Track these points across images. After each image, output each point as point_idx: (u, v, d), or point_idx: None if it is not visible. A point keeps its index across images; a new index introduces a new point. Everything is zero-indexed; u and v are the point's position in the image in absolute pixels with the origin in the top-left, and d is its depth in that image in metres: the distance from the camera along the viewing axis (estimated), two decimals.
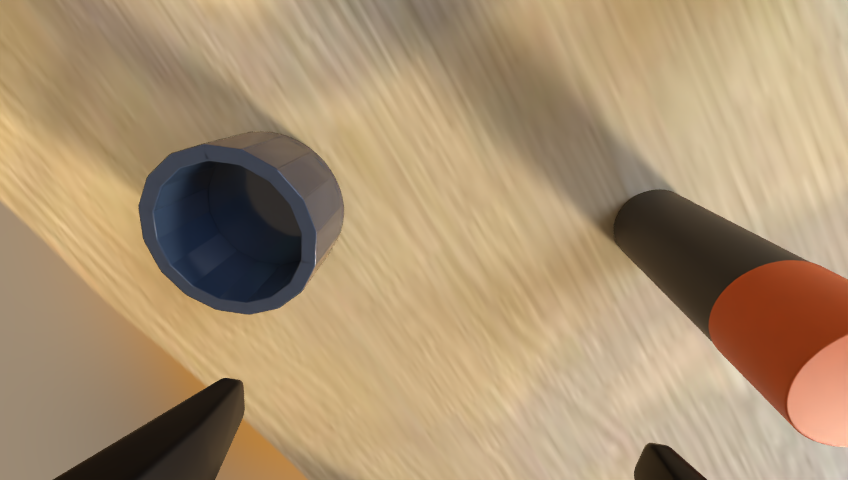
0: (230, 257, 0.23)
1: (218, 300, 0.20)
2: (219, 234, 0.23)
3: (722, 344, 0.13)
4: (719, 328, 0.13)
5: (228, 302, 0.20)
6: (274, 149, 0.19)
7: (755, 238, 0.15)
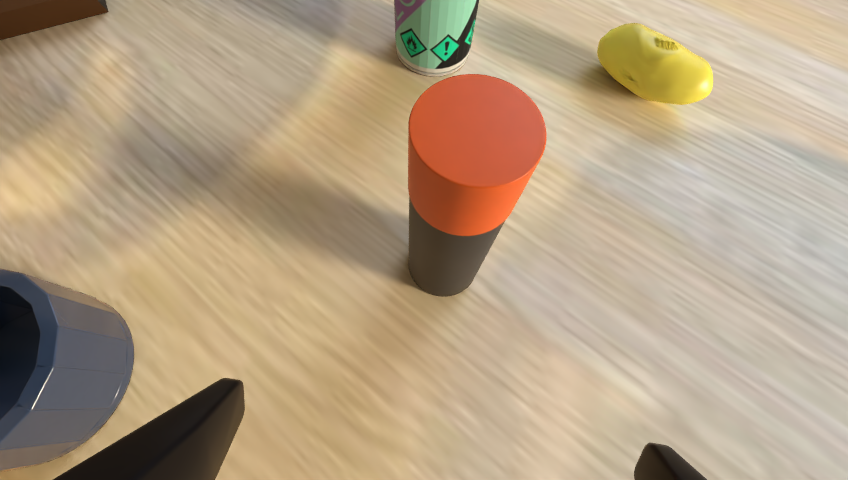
0: None
1: None
2: None
3: (421, 207, 0.14)
4: (413, 198, 0.14)
5: None
6: None
7: None
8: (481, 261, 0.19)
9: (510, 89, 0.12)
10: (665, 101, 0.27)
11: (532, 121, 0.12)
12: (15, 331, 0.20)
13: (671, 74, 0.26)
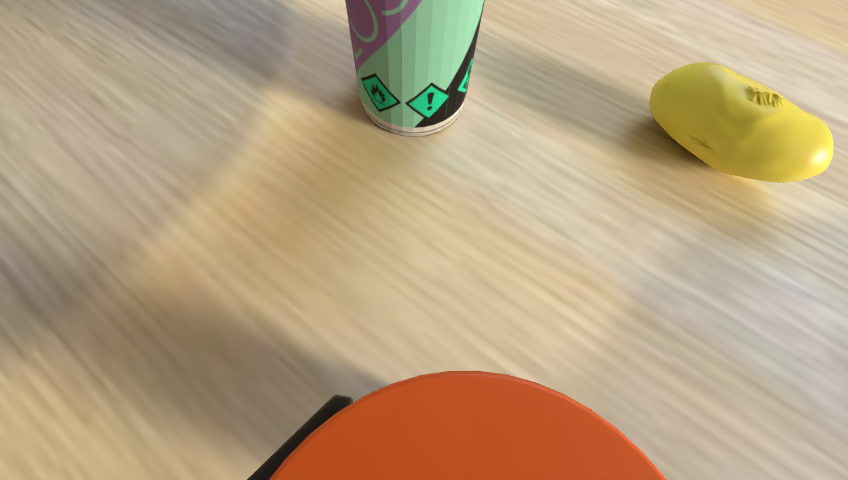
0: None
1: None
2: None
3: None
4: None
5: None
6: None
7: None
8: None
9: (594, 442, 0.03)
10: (756, 178, 0.18)
11: None
12: None
13: (772, 142, 0.17)
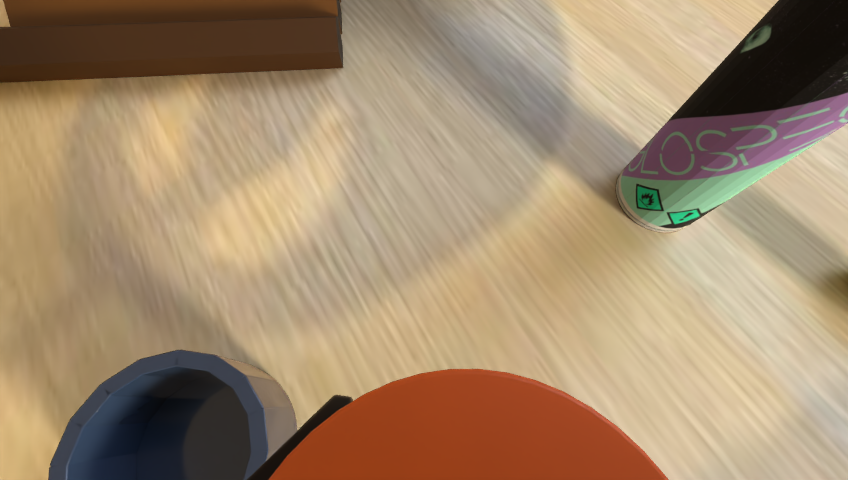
0: None
1: None
2: None
3: None
4: None
5: None
6: (244, 366, 0.19)
7: None
8: None
9: (595, 440, 0.03)
10: None
11: None
12: (199, 392, 0.21)
13: None
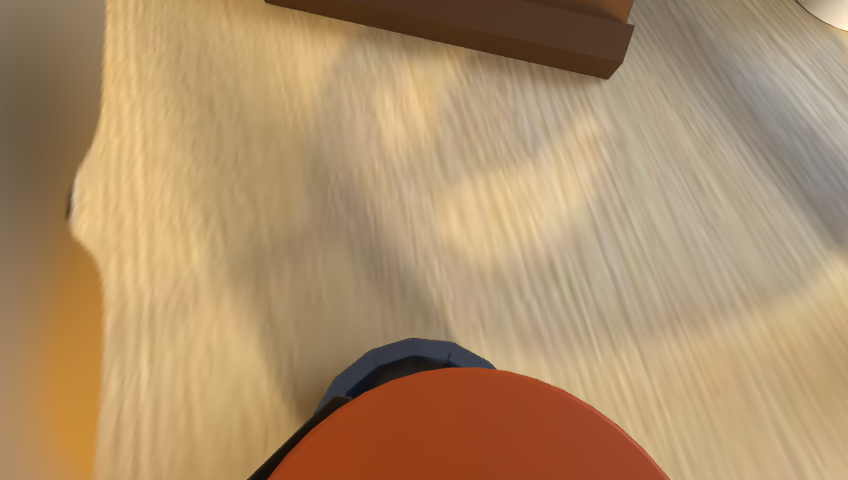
0: None
1: None
2: None
3: None
4: None
5: None
6: None
7: None
8: None
9: (595, 438, 0.03)
10: None
11: None
12: None
13: None
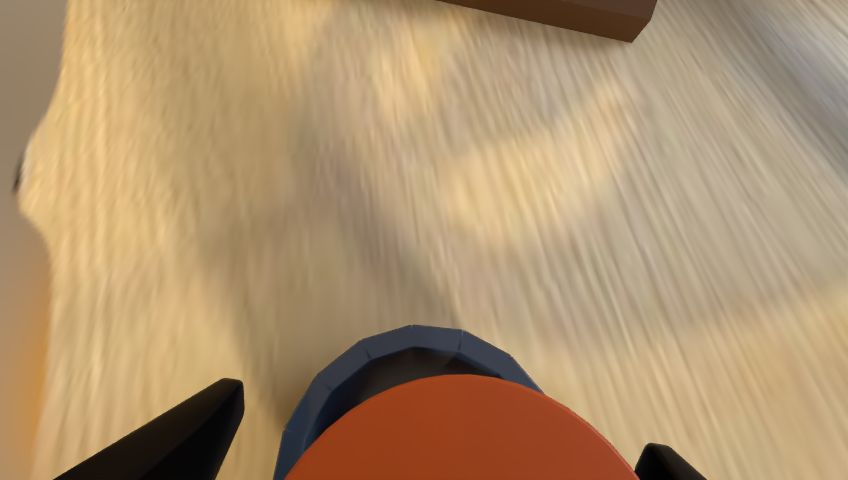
0: None
1: None
2: None
3: None
4: None
5: None
6: None
7: None
8: None
9: (569, 435, 0.04)
10: None
11: None
12: None
13: None
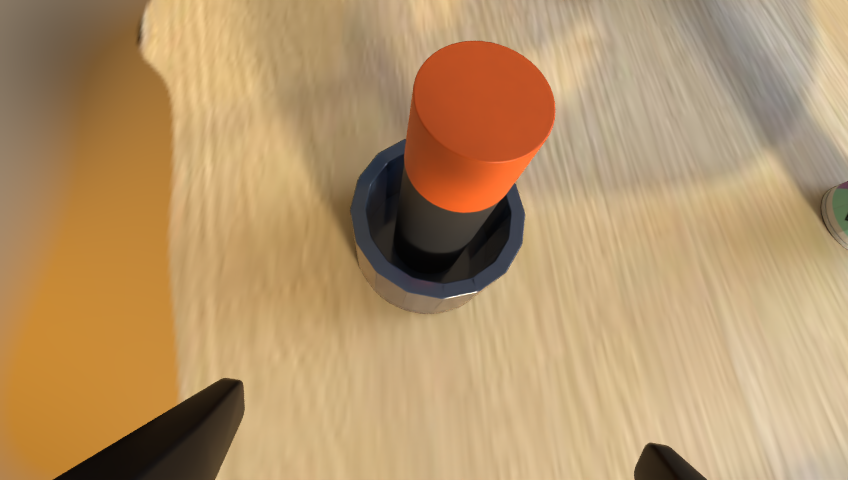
0: None
1: (385, 263, 0.18)
2: None
3: (417, 177, 0.13)
4: (409, 168, 0.14)
5: (395, 269, 0.18)
6: None
7: None
8: (469, 241, 0.19)
9: (522, 62, 0.12)
10: None
11: (542, 98, 0.11)
12: None
13: None
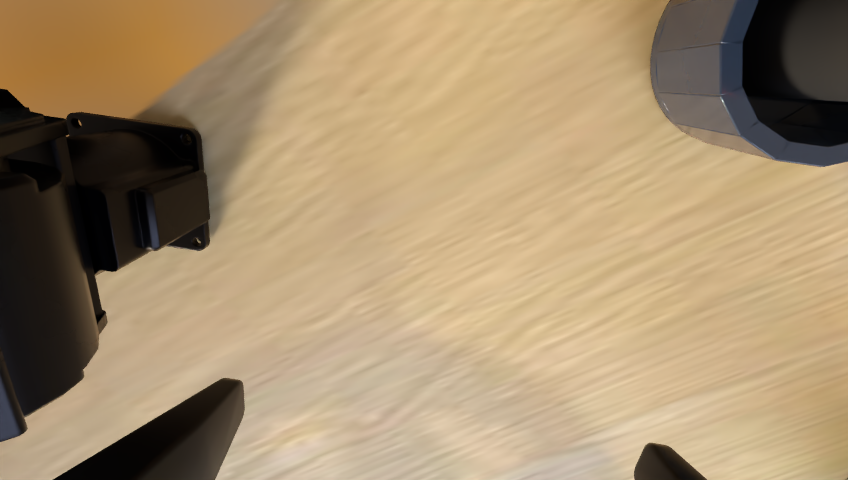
0: None
1: None
2: None
3: None
4: None
5: (751, 10, 0.12)
6: None
7: None
8: (816, 96, 0.13)
9: None
10: None
11: None
12: None
13: None
